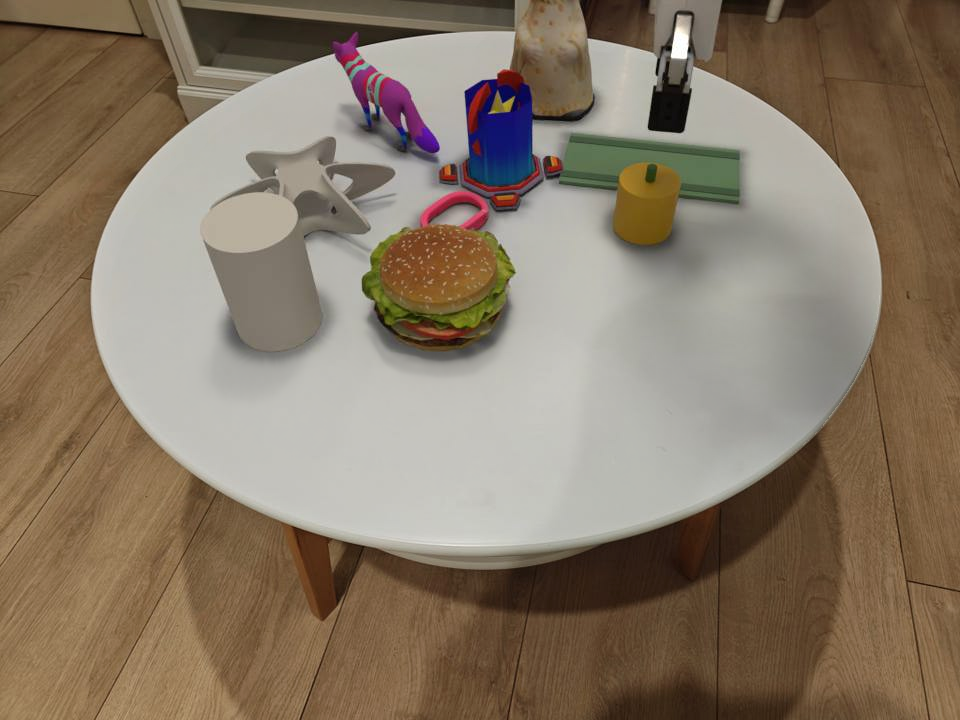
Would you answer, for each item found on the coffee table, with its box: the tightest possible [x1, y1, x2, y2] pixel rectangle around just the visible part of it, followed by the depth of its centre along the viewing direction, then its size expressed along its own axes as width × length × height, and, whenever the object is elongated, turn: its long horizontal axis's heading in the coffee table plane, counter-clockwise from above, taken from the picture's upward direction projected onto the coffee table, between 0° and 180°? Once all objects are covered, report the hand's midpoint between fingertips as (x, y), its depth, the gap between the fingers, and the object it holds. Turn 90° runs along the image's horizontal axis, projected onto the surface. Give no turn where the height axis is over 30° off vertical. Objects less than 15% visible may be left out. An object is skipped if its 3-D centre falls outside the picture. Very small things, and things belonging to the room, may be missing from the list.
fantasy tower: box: [438, 68, 564, 211], centre depth 84 cm, size 12×12×12 cm
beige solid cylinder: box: [199, 191, 323, 353], centre depth 69 cm, size 8×8×12 cm
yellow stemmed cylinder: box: [612, 163, 681, 246], centre depth 79 cm, size 6×6×8 cm
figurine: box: [509, 0, 596, 122], centre depth 92 cm, size 12×10×20 cm
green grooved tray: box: [558, 132, 741, 204], centre depth 89 cm, size 20×10×1 cm, turn 77°
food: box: [361, 223, 517, 352], centre depth 72 cm, size 14×14×8 cm
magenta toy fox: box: [332, 31, 441, 154], centre depth 91 cm, size 4×18×10 cm, turn 45°
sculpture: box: [209, 135, 396, 237], centre depth 82 cm, size 18×20×6 cm
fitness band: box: [419, 190, 490, 231], centre depth 83 cm, size 8×6×2 cm
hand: (668, 102), depth 71 cm, fingers open, 9 cm apart
